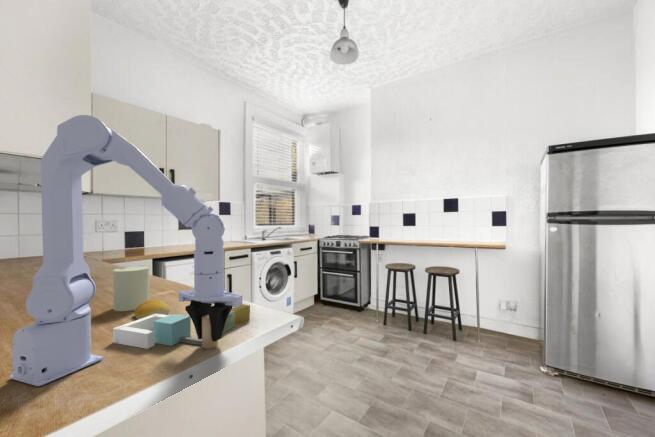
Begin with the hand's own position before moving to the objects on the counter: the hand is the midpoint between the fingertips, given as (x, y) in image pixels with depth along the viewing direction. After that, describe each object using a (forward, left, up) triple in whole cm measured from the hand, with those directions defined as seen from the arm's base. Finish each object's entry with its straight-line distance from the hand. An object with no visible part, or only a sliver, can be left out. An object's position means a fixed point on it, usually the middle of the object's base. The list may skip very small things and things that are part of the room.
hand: (210, 338), depth 59 cm
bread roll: (+11, +30, -2) cm, 32 cm away
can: (+15, +43, -2) cm, 45 cm away
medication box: (+11, +3, -2) cm, 11 cm away
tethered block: (0, +6, -1) cm, 6 cm away
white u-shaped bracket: (0, +16, -1) cm, 16 cm away
